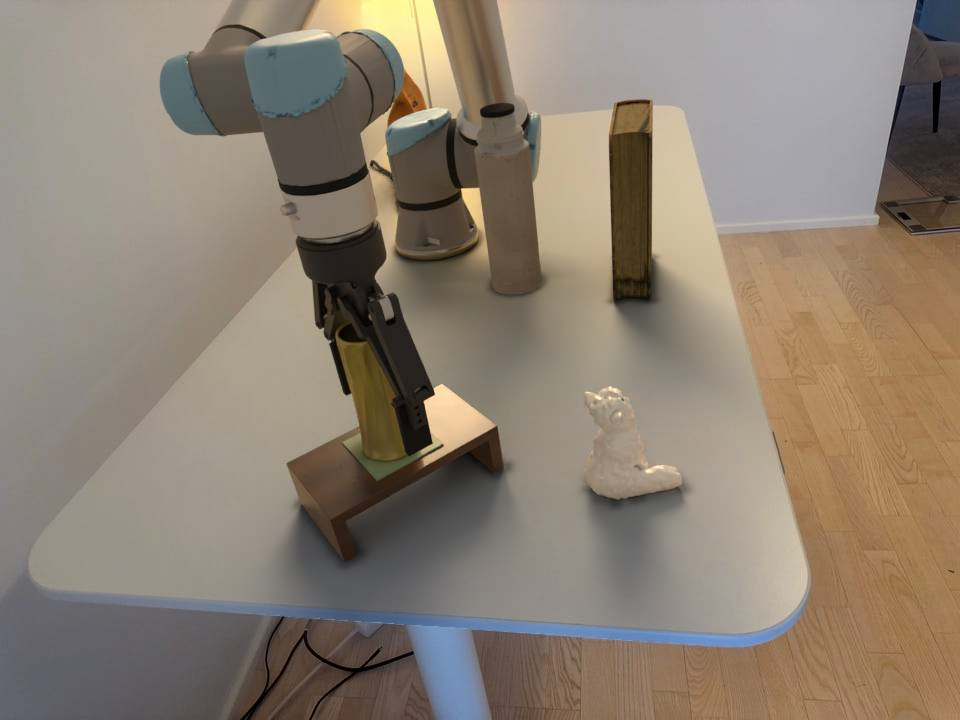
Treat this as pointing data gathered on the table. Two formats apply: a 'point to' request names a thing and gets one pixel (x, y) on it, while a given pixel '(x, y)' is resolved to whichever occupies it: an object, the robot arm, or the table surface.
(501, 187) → the thermos bottle
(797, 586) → the table surface
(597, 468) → the white creature statuette
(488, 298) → the table surface
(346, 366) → the vase
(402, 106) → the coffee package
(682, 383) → the table surface
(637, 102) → the book
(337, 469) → the shelf
